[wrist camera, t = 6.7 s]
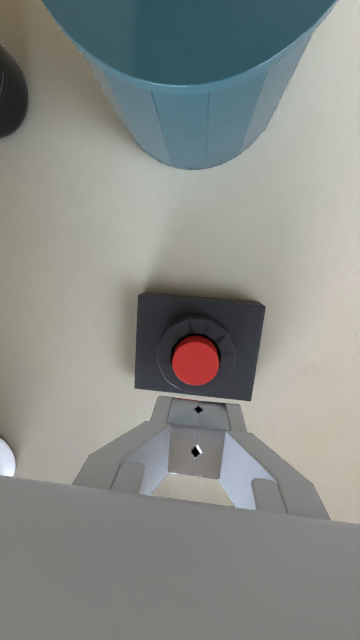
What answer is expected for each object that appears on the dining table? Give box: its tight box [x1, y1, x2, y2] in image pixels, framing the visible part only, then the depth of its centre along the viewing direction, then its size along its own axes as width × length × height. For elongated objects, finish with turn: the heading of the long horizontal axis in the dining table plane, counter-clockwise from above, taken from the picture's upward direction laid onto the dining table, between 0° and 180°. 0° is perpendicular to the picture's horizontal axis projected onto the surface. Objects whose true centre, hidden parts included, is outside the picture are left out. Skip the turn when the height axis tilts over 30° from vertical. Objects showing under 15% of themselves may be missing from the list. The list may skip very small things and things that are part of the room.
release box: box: [135, 292, 266, 401], centre depth 22 cm, size 11×9×4 cm
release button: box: [172, 336, 219, 385], centre depth 20 cm, size 4×4×2 cm
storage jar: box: [82, 30, 315, 170], centre depth 14 cm, size 14×14×10 cm
